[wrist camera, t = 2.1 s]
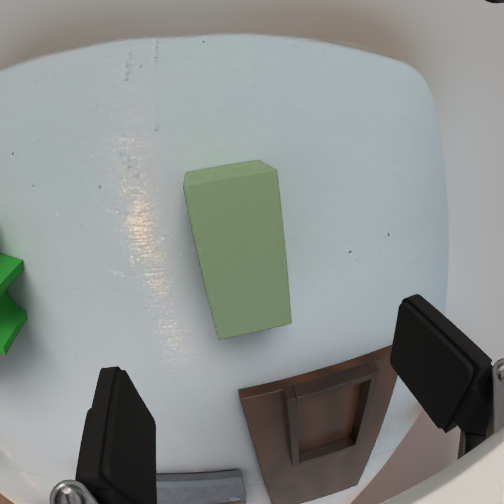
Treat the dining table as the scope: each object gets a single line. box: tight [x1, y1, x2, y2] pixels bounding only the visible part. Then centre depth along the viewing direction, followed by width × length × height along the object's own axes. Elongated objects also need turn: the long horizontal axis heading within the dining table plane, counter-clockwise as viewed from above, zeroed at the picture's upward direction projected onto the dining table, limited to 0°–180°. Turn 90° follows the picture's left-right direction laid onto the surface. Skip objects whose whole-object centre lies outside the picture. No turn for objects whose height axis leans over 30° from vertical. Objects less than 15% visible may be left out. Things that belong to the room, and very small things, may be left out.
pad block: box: [183, 160, 292, 339], centre depth 17 cm, size 4×9×4 cm, turn 8°
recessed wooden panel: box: [238, 345, 398, 504], centre depth 33 cm, size 16×38×3 cm, turn 8°
